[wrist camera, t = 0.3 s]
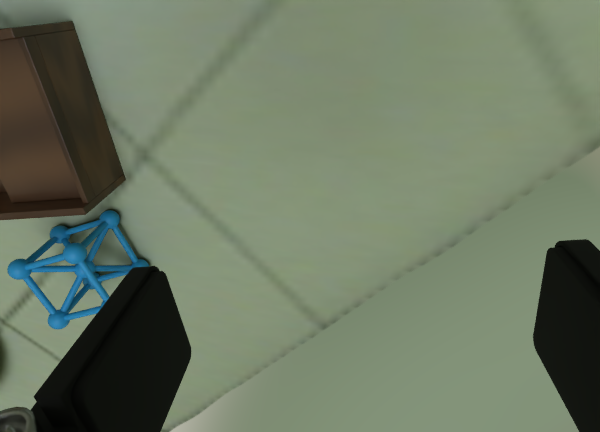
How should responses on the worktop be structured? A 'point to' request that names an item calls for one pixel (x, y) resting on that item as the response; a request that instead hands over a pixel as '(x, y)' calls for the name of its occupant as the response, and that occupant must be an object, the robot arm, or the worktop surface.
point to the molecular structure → (82, 268)
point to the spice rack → (51, 127)
